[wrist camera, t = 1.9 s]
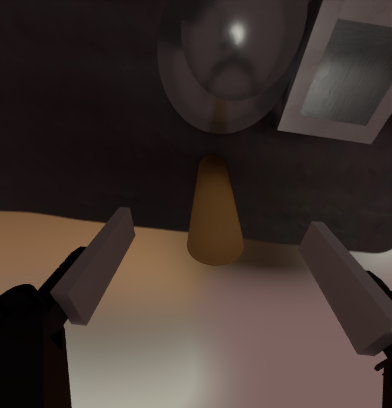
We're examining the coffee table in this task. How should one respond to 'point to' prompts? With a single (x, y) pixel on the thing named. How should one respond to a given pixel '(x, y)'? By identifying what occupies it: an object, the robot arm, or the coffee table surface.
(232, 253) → the tapered pin
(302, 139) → the coffee table surface
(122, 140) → the coffee table surface
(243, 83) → the rosette bracket
